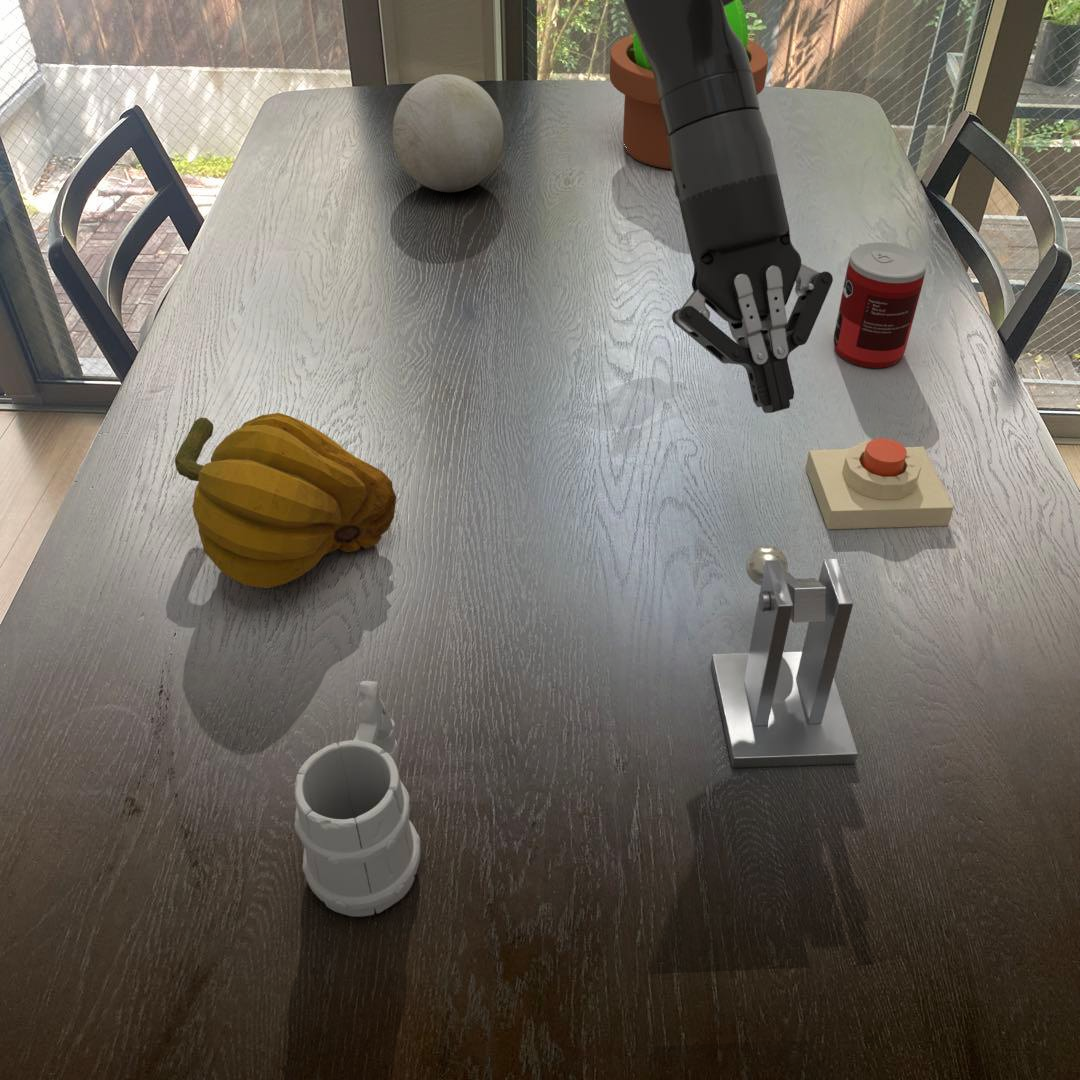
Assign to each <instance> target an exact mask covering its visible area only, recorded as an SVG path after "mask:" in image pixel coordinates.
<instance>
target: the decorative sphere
mask: <svg viewBox="0 0 1080 1080" xmlns="http://www.w3.org/2000/svg"><path fill="white" fill-rule="evenodd" d="M504 138H505V137H504V124H503V119H502V116H501V112H500V110H499V108H498V105H496V103H495V100H494V99H493V98H492V97H491V95H490V94H489V93H488V92H487V91H486V90H485V88H483V87H482V86H481V85H479V84H478V83H477V82H475V81H473V80H471V79H470V78H467V77H464V76H462V75H459V74H458V75H457V74H451V73H450V74H448V73H442V74H436V75H432V76H429V77H425V78H424V79H421V80H420V81H418V82H417V83H415V84H414V85H412V86H411V88H410V89H408V90H407V92H406V93H405V94H404V95H403V97H402V98H401V100H400V101H399V103H398V105H397V107H396V110H395V113H394V116H393V121H392V142H393V146H394V150H395V153H396V155H397V158H398V160H399V163H401V165H402V167H403V169H404V170H405V171H406V172H407V173H408V175H409V176H411V178H412V179H414V180H415V181H416V182H418V183H419V184H421V185H422V186H424V187H426V188H428V189H430V190H434V191H437V192H440V193H441V192H442V193H458V192H462V191H466V190H469V189H471V188H473V187H475V186H477V185H479V184H481V182H483V181H484V180H485V179H486V178H487V177H488V176H489V175H490V174H491V172H492V171H493V170H494V168H495V167H496V166H497V163H498V161H499V160H500V156H501V153H502V149H503V146H504V145H503V144H504Z"/></svg>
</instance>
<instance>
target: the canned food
mask: <svg viewBox="0 0 1080 1080" xmlns="http://www.w3.org/2000/svg"><path fill="white" fill-rule="evenodd" d="M926 270H927V261H926V259H925V258H924V257H923V256H922V254H920V253H918V251H916V250H914V249H912V248H909V247H907V246H903V245H901V244H898V243H897V244H896V243H892V242H891V243H890V242H877V241H876V242H867V243H863V244H859V245H858V246H856V247H855V248H853V249H852V251H851V253H850V256H849V259H848V263H847V267H846V273H845V277H844V282H843V288H842V293H841V297H840V302H839V307H838V313H837V318H836V322H835V328H834V333H833V346H834V350H835V352H836V353H837V354H838V355H839V357H841V358H842V359H844V360H845V361H847V362H849V363H851V364H852V365H855V366H859V367H864V368H870V369H881V368H882V369H883V368H888V367H892V366H894V365H895V364H897V363H899V361H900V360H901V359H902V357H903V356H904V354H905V352H906V349H907V346H908V342H909V338H910V334H911V330H912V326H913V322H914V318H915V314H916V311H917V308H918V304H919V299H920V296H921V291H922V288H923V285H924V281H925V280H924V279H925V276H926V272H927V271H926Z"/></svg>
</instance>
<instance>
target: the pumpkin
mask: <svg viewBox="0 0 1080 1080" xmlns="http://www.w3.org/2000/svg"><path fill="white" fill-rule="evenodd" d="M213 432H214V424H213V422H211V421H210V420H209V418H207V417H199V418H198V419H196V420H194V421H193V423H192V425H191V427H190V429H189V431H188V433H187V435H186V437H185V439H184V440H183V442H182V444H181V445H180V448H179V449H178V451H177V453H176V455H175V457H174V465H175V469H176V471H177V473H178V475H180V476H182V477H184V478H187V479H188V480H189V481H193V482H198V483H197V484H196V486H195V490H194V495H193V502H192V503H193V504H192V512H193V517H194V519H195V521H196V524H197V526H198V527H197V528H198V534H199V538H200V542H201V545H202V548H203V552H204V553H205V554H206V556H207V557H208V558H209V559H210V560H211V561H212V563H213V564H214V565H215V566H216V567H217V569H218V570H220V573H222V574H224V575H226V576H227V577H230V578H231V579H233V580H234V581H236V582H238V583H240V584H242V585H243V586H249V587H254V588H255V587H257V588H262V589H263V588H265V589H270V588H275V587H278V586H282V585H286V584H288V583H290V582H291V581H294V580H296V579H298V578H300V577H302V576H303V575H304V574H306V573H308V572H309V571H311V570H312V569H314V567H316V565H318V564H319V562H320V561H321V560H322V558H323V557H324V556H325V555H326V554H328V553H329V554H330V553H333V552H335V551H336V550H337V549H339V550H340V551H341V552H345V553H353V552H357V551H359V550H360V549H361V547H362V548H364V549H365V550H368V549H369V548H370V547H373V546H375V545H378V544H379V542H380V541H381V539H382V535H383V534H385V533H387V532H388V531H389V529H390V527H391V525H392V523H393V521H394V518H395V513H396V512H395V511H396V504H397V495H396V492H395V490H394V488H393V481H392V480H391V479H390V477H388V475H386V474H385V472H384V471H383V470H381V469H379V468H378V467H375V466H374V465H372V464H370V463H368V462H367V461H364V460H362V459H360V458H358V457H357V456H355V455H353V454H352V453H350V452H349V451H348V450H346V449H344V447H342V446H341V445H340V444H339V443H337V442H336V441H335V440H333V439H332V438H330V436H328V435H326V434H325V433H323V432H321V431H320V430H318V429H316V428H315V427H313V426H311V424H308V423H306V422H304V421H303V420H301V419H298V418H295V417H292V415H287V414H285V413H280V412H275V413H267V414H261V415H259V416H257V417H254V418H253V419H250V420H248V421H245V422H244V423H243V424H242V425H241V426H240V428H237V429H235V430H233V431H232V432H230V433H229V434H228V435H226V436H225V437H224V438H223V439H222V440H221V441H220V443H218V444H217V445H216V447H215V449H214V450H213V452H212V454H211V457H210V462H207V463H205V464H204V465H203V464H199V463H197V462H198V459H199V458H200V456H201V453H202V451H203V449H204V446H205V444H206V443H207V441H208V440H209V439H210V438H212V436H213Z"/></svg>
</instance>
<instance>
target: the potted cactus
mask: <svg viewBox="0 0 1080 1080" xmlns="http://www.w3.org/2000/svg"><path fill="white" fill-rule="evenodd" d="M745 7H748V5H747V4H745V5H743V2H742V1H741V0H735V1H733V2H731V3H730V4H728V5H726V6H724V10H725V14H726V17H727V20H728V23H729V25H730V27H731V29H732V30H733V31H734V33H735V34H736V35H737V37H738V38H739V39H740V40H741V42H742V44H743V46H744V48H745V50H746V53H747V56H748V59H749V63H750V66H751V70H752V75H753V79H754V84H755V88H756V93H757V96H758V95H759V94H761V93H762V91H763V90H764V89H765V86H766V79H767V73H768V72H767V71H768V65H769V56H768V53H767V52H766V50H765V49H764V48H763V47H761V45H759V44H758V43H757V42H755V41H753V40H751V39H749V38H751V37H752V35H749V28H748V27H749V25H748V18H747V15H746V11H745ZM609 55H610V56H609V81H610V83H611V85H612V86H613V88H614V89H616V90H617V91H618V92H620V93H621V94H623V95H624V106H623V127H622V129H623V130H622V144H623V148H624V149H625V151H626V152H627V154H629V155H630V156H631V157H632V158H633V159H635V160H636V161H638V162H641V163H642V164H645V165H647V166H651V167H655V168H661V169H666V170H667V169H668V170H672V169H671V160H670V149H669V142H668V137H667V132H666V128H665V123H664V119H663V115H662V110H661V106H660V102H659V97H658V92H657V86H656V81H655V77H654V74H653V71H652V69H651V67H650V65H649V62H648V60H647V58H646V56H645V54H644V52H643V49H642V47H641V44H640V42H639V39H638V37H637V34H636V32H635V29H634V28H633V33H632V34H629V35H627V36H625V37H623V38H621V39H619V40H617V41H616V42H615V43H614V44H613V45H612V47H611V48H610V53H609ZM624 144H625V145H624ZM625 146H626V147H627V148H626V147H625Z"/></svg>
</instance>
